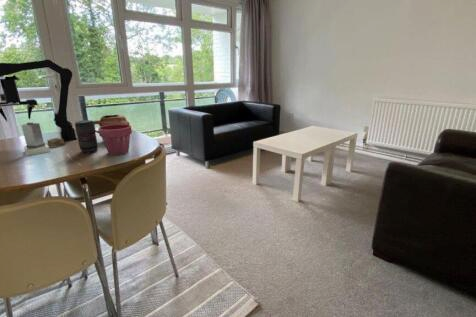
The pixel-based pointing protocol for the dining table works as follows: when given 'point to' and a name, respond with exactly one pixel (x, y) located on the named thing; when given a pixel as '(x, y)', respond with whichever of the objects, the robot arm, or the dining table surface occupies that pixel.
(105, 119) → the decorative planter
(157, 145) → the dining table surface
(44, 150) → the stand
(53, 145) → the walnut block
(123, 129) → the plant pot
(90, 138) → the camera lens
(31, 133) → the housing
